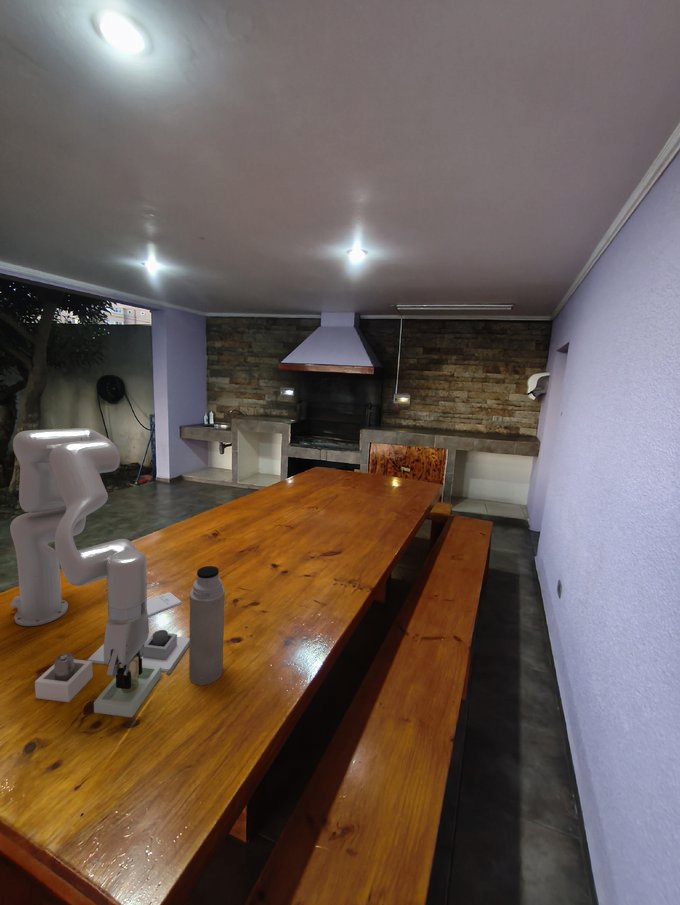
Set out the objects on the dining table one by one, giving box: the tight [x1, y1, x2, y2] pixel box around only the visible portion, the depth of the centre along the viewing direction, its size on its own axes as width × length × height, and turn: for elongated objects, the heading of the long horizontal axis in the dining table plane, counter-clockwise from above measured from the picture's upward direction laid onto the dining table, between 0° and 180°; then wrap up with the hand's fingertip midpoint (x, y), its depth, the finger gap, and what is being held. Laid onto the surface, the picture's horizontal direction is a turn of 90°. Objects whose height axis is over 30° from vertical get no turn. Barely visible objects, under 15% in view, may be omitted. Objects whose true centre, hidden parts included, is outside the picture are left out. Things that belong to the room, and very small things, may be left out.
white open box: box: [34, 658, 94, 703], centre depth 89 cm, size 8×8×5 cm
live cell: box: [120, 654, 139, 693], centre depth 88 cm, size 4×4×8 cm
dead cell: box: [53, 653, 75, 682], centre depth 89 cm, size 4×4×8 cm
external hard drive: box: [147, 591, 182, 619], centre depth 124 cm, size 2×8×12 cm
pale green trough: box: [93, 664, 162, 718], centre depth 89 cm, size 8×12×3 cm
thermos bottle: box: [188, 565, 226, 686], centre depth 96 cm, size 8×8×28 cm
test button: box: [152, 629, 169, 647], centre depth 102 cm, size 4×4×4 cm
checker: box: [87, 632, 190, 676], centre depth 103 cm, size 21×12×4 cm, turn 86°
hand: (129, 679), depth 89 cm, fingers closed on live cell, 3 cm apart
